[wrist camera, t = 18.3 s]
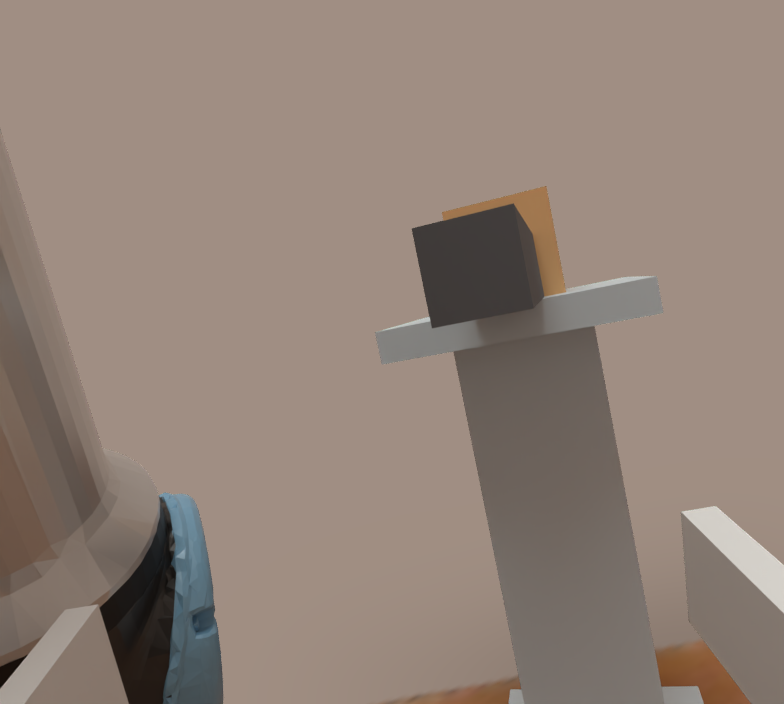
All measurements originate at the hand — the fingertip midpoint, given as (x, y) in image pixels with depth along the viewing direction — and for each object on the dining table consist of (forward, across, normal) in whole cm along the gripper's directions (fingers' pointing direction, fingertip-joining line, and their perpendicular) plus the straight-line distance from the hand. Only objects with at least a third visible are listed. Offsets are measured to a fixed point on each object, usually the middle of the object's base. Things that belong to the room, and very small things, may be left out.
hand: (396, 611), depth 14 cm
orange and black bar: (+14, +6, +4) cm, 16 cm away
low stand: (+15, +8, -24) cm, 30 cm away
